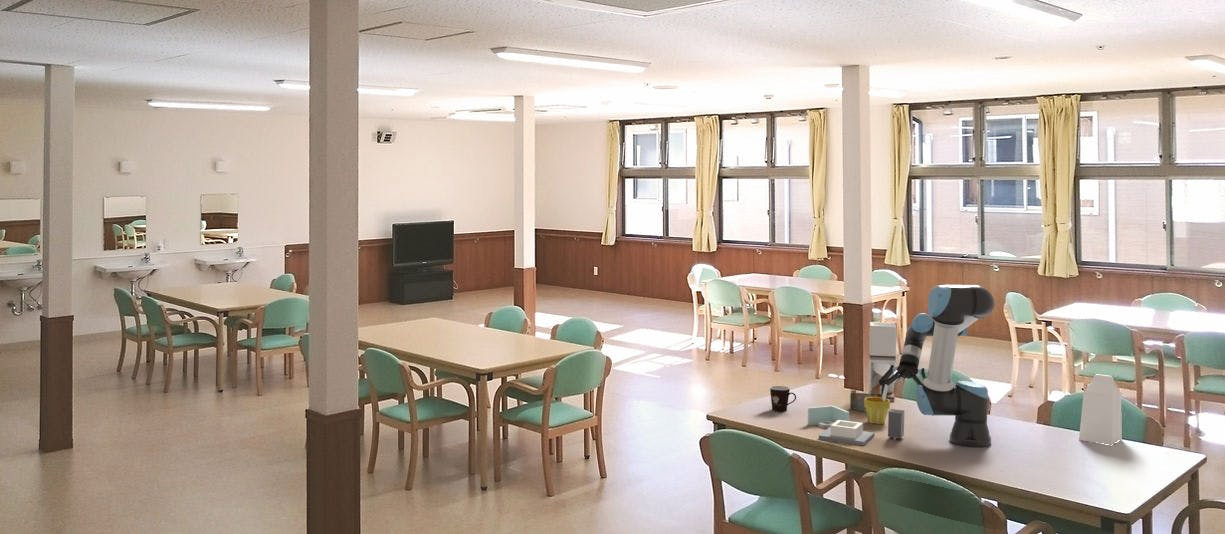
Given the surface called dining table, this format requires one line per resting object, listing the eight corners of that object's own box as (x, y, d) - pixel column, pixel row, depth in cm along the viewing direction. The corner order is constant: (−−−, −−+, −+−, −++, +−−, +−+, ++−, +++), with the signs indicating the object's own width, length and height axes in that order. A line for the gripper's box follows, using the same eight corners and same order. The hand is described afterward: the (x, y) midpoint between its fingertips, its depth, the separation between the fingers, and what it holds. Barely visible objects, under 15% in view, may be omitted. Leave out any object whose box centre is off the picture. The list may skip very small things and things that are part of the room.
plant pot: (886, 419, 405) (887, 396, 404) (891, 425, 395) (892, 402, 394) (861, 418, 406) (862, 396, 406) (865, 425, 396) (866, 402, 395)
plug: (903, 437, 377) (904, 410, 376) (900, 440, 372) (901, 413, 371) (890, 436, 379) (891, 409, 378) (887, 439, 375) (888, 411, 374)
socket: (874, 436, 379) (874, 422, 378) (864, 445, 366) (864, 431, 365) (830, 430, 388) (830, 417, 387) (818, 439, 375) (818, 425, 374)
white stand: (868, 400, 440) (870, 325, 437) (868, 395, 450) (870, 322, 447) (894, 401, 437) (896, 326, 434) (893, 396, 447) (895, 322, 444)
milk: (1078, 440, 374) (1081, 375, 371) (1089, 434, 382) (1092, 370, 379) (1111, 446, 365) (1114, 379, 363) (1121, 440, 373) (1125, 375, 371)
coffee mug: (765, 409, 423) (766, 386, 422) (781, 407, 427) (782, 385, 426) (780, 414, 413) (781, 392, 412) (797, 412, 417) (797, 390, 416)
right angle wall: (807, 425, 397) (808, 407, 397) (832, 423, 401) (832, 405, 401) (823, 432, 386) (824, 414, 385) (848, 430, 390) (849, 412, 390)
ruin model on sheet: (850, 411, 422) (850, 389, 421) (850, 409, 425) (850, 387, 424) (876, 412, 419) (877, 391, 418) (876, 411, 422) (877, 389, 421)
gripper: (942, 366, 390) (933, 410, 379) (881, 360, 403) (871, 402, 391) (940, 356, 385) (931, 400, 374) (878, 350, 398) (867, 392, 386)
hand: (900, 401), depth 382 cm, fingers open, 13 cm apart
